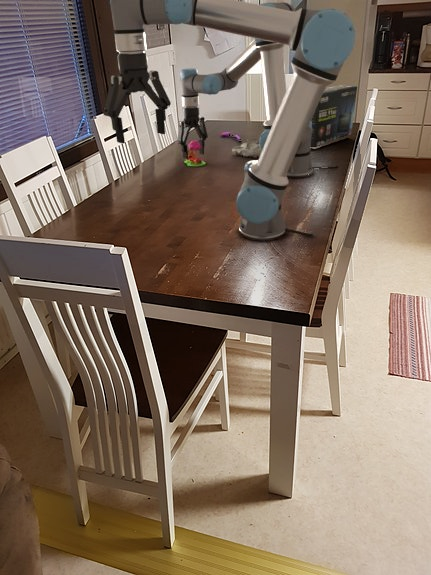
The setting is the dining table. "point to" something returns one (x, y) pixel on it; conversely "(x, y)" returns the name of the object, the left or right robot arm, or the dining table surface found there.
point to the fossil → (248, 148)
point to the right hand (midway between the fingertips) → (193, 156)
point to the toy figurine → (194, 161)
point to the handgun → (232, 136)
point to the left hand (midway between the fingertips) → (141, 138)
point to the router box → (333, 114)
